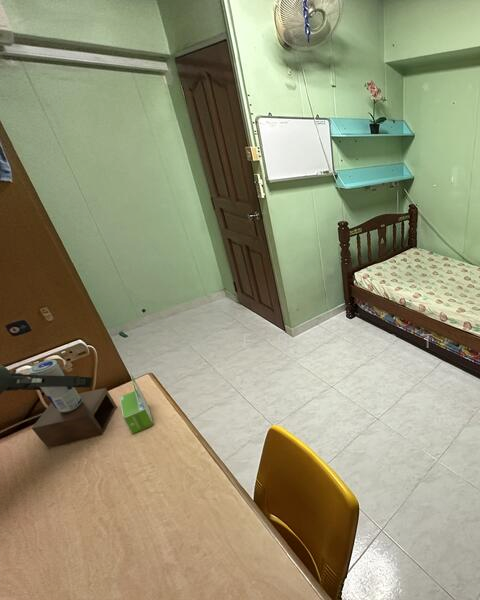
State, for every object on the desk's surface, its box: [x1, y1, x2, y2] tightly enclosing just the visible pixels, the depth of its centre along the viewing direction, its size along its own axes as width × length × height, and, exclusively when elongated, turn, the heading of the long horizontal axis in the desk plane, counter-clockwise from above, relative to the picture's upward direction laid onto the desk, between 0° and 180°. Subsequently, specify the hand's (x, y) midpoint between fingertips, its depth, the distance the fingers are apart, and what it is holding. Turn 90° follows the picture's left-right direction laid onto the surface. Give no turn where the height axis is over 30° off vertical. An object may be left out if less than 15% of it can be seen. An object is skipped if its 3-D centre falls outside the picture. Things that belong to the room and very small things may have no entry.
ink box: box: [118, 372, 154, 435], centre depth 90 cm, size 10×5×14 cm, turn 43°
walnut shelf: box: [31, 387, 118, 449], centre depth 89 cm, size 12×11×8 cm
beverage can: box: [28, 359, 82, 412], centre depth 83 cm, size 5×5×15 cm
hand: (70, 383), depth 87 cm, fingers open, 9 cm apart
